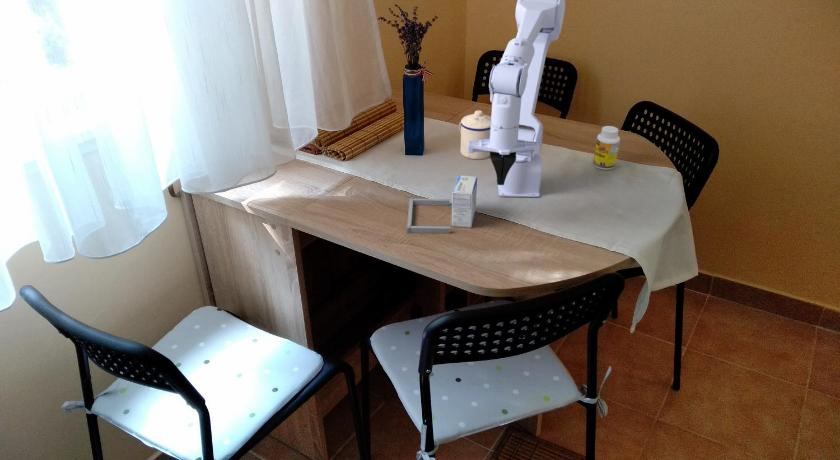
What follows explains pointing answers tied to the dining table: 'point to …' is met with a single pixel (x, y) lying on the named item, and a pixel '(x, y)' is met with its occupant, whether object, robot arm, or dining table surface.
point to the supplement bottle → (606, 148)
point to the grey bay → (426, 228)
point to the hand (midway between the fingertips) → (500, 182)
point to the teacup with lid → (474, 133)
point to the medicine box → (464, 201)
